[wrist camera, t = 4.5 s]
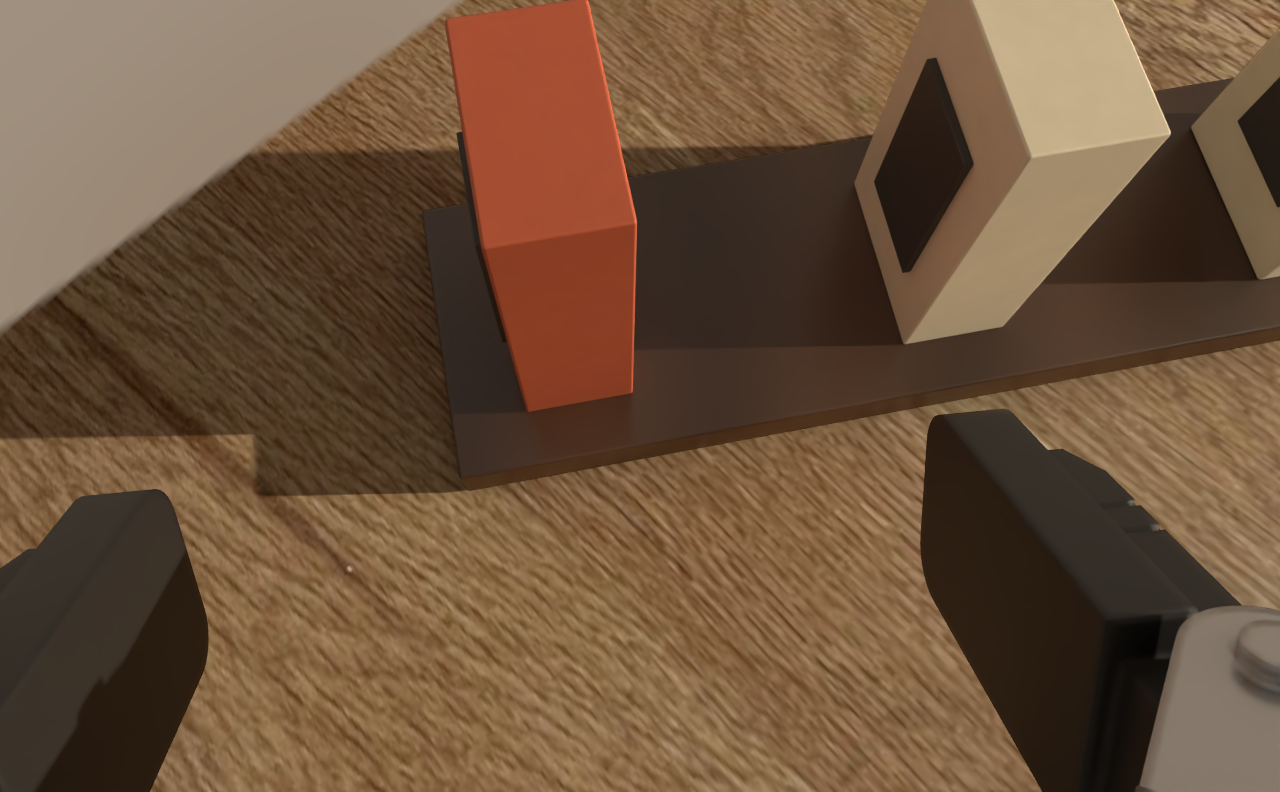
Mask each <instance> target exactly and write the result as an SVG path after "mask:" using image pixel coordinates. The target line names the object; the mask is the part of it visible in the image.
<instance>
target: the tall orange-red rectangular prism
mask: <svg viewBox="0 0 1280 792" xmlns="http://www.w3.org/2000/svg"><path fill="white" fill-rule="evenodd" d="M445 29H446V35H447V41H448V47H449V53H450V59H451V66H452V72H453V78H454V84H455V90H456V96H457V102H458V109H459V115H460V121H461V127H462V132H459V133H457V139H458V145H459V151H460V158H461V164H462V170H463V176H464V182H465V189H466V195H467V201H468V207H469V214H470V220H471V226H472V232H473V238H474V245H475V249H476V252H477V256H478V259H479V263H480V266H481V270H482V273H483V277H484V280H485V283H486V287H487V290H488V294H489V297H490V301H491V304H492V308H493V311H494V315H495V318H496V322H497V325H498V328H499V332H500V335H501V339H502V342H507V343H508V346H509V350H510V353H511V357H512V361H513V364H514V368H515V371H516V375H517V379H518V382H519V386H520V390H521V393H522V397H523V400H524V404H525V408H526V410H527V411H528V412H530V411H536V410H541V409H547V408H552V407H558V406H564V405H569V404H575V403H580V402H586V401H591V400H597V399H602V398H608V397H613V396H619V395H624V394H630V393H632V392H633V364H634V325H635V286H636V247H637V218H636V214H635V209H634V205H633V200H632V196H631V191H630V187H629V182H628V178H627V173H626V169H625V164H624V160H623V155H622V151H621V146H620V142H619V137H618V133H617V128H616V124H615V119H614V115H613V110H612V105H611V101H610V96H609V92H608V87H607V83H606V78H605V74H604V69H603V65H602V60H601V56H600V51H599V47H598V42H597V38H596V33H595V29H594V24H593V20H592V15H591V11H590V6H589V2H588V1H587V0H571V1H564V2H557V3H550V4H544V5H537V6H530V7H523V8H517V9H510V10H503V11H497V12H490V13H483V14H476V15H470V16H463V17H456V18H449V19H446V20H445Z"/></svg>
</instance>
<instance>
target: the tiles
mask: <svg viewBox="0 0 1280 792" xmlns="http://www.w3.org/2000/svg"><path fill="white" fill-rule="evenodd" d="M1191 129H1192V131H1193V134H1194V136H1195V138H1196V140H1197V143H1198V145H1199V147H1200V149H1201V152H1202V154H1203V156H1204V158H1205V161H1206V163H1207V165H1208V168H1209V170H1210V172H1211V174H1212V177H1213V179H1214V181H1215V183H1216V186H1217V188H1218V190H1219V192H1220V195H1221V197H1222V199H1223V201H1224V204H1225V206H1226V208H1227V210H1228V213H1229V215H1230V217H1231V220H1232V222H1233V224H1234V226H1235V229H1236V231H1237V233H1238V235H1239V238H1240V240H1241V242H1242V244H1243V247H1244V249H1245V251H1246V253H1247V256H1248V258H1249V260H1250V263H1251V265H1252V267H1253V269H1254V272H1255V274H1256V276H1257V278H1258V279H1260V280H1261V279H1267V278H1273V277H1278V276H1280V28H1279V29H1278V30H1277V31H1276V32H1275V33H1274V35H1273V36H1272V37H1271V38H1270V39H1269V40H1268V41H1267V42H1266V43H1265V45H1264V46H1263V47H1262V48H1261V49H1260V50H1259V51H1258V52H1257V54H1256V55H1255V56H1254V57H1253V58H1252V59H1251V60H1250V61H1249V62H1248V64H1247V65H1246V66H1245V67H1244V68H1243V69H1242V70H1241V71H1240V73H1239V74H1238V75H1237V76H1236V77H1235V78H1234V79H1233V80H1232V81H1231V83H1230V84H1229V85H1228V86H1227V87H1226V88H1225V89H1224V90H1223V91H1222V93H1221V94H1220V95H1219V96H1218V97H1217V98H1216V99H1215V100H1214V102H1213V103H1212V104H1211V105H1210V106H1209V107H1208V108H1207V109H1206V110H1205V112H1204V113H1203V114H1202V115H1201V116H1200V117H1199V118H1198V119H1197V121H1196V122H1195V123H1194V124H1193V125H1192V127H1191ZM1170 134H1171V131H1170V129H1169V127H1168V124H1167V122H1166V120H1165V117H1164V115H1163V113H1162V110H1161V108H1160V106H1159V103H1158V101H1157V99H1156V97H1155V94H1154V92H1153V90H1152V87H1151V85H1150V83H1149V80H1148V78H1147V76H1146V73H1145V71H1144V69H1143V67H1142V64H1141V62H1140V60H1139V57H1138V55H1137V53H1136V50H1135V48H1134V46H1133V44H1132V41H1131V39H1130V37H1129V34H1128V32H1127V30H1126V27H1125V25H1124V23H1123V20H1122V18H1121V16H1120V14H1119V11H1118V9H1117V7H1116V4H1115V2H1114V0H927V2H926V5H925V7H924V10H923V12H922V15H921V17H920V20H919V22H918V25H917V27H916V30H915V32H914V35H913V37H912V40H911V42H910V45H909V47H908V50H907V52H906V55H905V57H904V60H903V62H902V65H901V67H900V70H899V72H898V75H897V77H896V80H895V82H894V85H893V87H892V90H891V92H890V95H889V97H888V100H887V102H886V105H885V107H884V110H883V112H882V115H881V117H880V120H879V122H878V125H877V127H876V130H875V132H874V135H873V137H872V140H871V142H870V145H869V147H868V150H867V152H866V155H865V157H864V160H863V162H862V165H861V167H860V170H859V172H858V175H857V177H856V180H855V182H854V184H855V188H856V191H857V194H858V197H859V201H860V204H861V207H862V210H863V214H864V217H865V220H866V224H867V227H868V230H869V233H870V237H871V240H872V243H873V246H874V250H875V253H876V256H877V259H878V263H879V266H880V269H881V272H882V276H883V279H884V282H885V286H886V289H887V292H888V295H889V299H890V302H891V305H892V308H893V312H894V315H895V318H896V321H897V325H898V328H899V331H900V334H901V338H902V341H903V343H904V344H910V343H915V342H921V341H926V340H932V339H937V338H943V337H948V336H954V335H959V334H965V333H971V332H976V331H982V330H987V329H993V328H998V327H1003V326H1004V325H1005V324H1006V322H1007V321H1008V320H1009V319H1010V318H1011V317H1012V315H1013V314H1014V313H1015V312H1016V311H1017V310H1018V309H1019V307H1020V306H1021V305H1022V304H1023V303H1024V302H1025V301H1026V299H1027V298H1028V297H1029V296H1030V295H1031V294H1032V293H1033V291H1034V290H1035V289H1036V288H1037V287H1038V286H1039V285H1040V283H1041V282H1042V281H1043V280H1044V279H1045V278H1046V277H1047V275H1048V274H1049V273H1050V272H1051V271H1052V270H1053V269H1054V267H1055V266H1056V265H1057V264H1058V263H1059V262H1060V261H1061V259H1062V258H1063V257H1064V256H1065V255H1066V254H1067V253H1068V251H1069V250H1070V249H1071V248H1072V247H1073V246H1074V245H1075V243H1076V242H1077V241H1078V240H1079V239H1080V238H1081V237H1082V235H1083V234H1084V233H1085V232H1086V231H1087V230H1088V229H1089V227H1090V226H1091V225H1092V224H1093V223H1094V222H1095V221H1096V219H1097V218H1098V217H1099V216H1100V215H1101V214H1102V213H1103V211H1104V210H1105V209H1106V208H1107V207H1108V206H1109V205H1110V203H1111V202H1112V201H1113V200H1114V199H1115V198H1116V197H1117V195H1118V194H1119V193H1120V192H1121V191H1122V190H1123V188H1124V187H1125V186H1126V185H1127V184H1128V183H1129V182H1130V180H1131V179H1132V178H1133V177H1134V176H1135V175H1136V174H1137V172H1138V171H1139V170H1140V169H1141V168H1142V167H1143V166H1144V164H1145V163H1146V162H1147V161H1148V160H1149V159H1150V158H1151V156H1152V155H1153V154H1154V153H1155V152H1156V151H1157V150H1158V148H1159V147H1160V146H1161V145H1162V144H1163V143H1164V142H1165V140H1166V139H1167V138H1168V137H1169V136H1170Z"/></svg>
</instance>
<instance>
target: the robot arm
mask: <svg viewBox="0 0 1280 792" xmlns="http://www.w3.org/2000/svg"><path fill="white" fill-rule="evenodd" d="M920 546H921V559H922V566H923V571H924V576H925V580H926V583H927V586H928V589H929V592H930V594H931V596H932V598H933V600H934V602H935V604H936V606H937V607H938V609H939V611H940V613H941V614H942V616H943V618H944V620H945V621H946V623H947V625H948V627H949V628H950V630H951V632H952V634H953V636H954V637H955V639H956V641H957V643H958V644H959V646H960V648H961V650H962V651H963V653H964V655H965V657H966V658H967V660H968V662H969V664H970V665H971V667H972V669H973V671H974V672H975V674H976V676H977V678H978V679H979V681H980V683H981V685H982V686H983V688H984V690H985V692H986V693H987V695H988V697H989V699H990V700H991V702H992V704H993V706H994V708H995V709H996V711H997V713H998V715H999V716H1000V718H1001V720H1002V722H1003V723H1004V725H1005V727H1006V729H1007V730H1008V732H1009V734H1010V736H1011V737H1012V739H1013V741H1014V743H1015V744H1016V746H1017V748H1018V750H1019V751H1020V753H1021V755H1022V757H1023V758H1024V760H1025V762H1026V764H1027V765H1028V767H1029V769H1030V771H1031V772H1032V774H1033V776H1034V778H1035V780H1036V781H1037V783H1038V785H1039V787H1040V788H1041V790H1042V792H1280V611H1279V610H1274V609H1270V608H1263V607H1255V606H1242V605H1241V604H1240V603H1239V602H1238V601H1237V600H1236V599H1235V598H1234V597H1233V596H1232V595H1231V594H1230V593H1229V592H1228V591H1227V590H1226V589H1225V588H1224V587H1223V586H1222V585H1221V584H1220V583H1219V582H1218V581H1217V580H1216V579H1215V578H1214V577H1213V576H1212V575H1211V574H1210V573H1209V572H1208V571H1207V570H1205V569H1204V568H1203V567H1202V566H1201V565H1200V564H1199V563H1198V562H1197V561H1196V560H1195V559H1194V558H1193V557H1192V556H1191V555H1190V554H1189V553H1188V552H1187V551H1186V550H1185V549H1184V548H1183V547H1182V546H1181V545H1180V544H1179V543H1178V542H1177V541H1176V540H1175V539H1174V538H1173V537H1172V536H1171V535H1170V534H1169V533H1168V532H1167V531H1166V530H1160V529H1159V523H1158V522H1157V521H1156V520H1155V519H1154V518H1153V517H1152V516H1151V515H1150V514H1149V513H1148V512H1147V511H1146V510H1145V509H1144V508H1143V507H1142V506H1141V505H1139V506H1136V505H1135V499H1134V498H1133V497H1132V496H1131V495H1130V494H1129V493H1128V492H1127V491H1126V490H1125V489H1123V488H1122V487H1121V486H1120V485H1119V484H1118V483H1117V482H1116V481H1115V480H1114V479H1113V478H1112V477H1111V476H1110V475H1109V474H1108V473H1107V472H1106V471H1105V470H1103V469H1101V468H1099V467H1097V466H1095V465H1093V464H1091V463H1089V462H1087V461H1085V460H1083V459H1081V458H1079V457H1077V456H1075V455H1073V454H1071V453H1069V452H1067V451H1065V450H1063V449H1055V450H1047V449H1046V448H1045V447H1044V446H1043V445H1042V444H1041V443H1040V441H1039V440H1038V439H1037V438H1036V437H1035V436H1034V435H1033V434H1032V433H1031V432H1030V431H1029V430H1028V429H1027V428H1026V427H1025V426H1024V425H1023V423H1022V422H1021V421H1020V420H1019V419H1018V418H1017V417H1016V416H1015V415H1014V414H1013V413H1012V412H1011V411H1009V410H1007V409H996V410H986V411H975V412H965V413H955V414H944V415H937V416H935V417H934V418H933V419H932V421H931V423H930V426H929V429H928V434H927V446H926V461H925V476H924V492H923V507H922V523H921V540H920ZM207 654H208V623H207V617H206V612H205V609H204V605H203V602H202V599H201V595H200V592H199V589H198V586H197V582H196V579H195V576H194V572H193V569H192V566H191V563H190V559H189V556H188V553H187V549H186V546H185V543H184V540H183V536H182V533H181V530H180V526H179V523H178V520H177V517H176V513H175V511H174V508H173V505H172V503H171V501H170V500H169V498H168V497H167V495H166V494H165V493H164V492H162V491H161V490H158V489H152V490H142V491H132V492H121V493H111V494H101V495H90V496H83V497H80V498H78V499H76V500H75V501H74V502H73V504H72V505H71V506H70V507H69V509H68V510H67V511H66V512H65V514H64V515H63V516H62V517H61V519H60V520H59V521H58V522H57V524H56V525H55V526H54V527H53V528H52V530H51V531H50V532H49V533H48V535H47V536H46V537H45V538H44V540H43V541H42V542H41V543H40V545H39V546H38V547H37V548H36V549H28V550H26V551H25V552H23V553H22V554H21V555H19V556H18V557H16V558H15V559H13V560H12V561H10V562H9V563H8V564H6V565H5V566H3V567H2V568H0V792H150V790H151V788H152V785H153V783H154V781H155V779H156V777H157V774H158V772H159V770H160V768H161V765H162V763H163V761H164V759H165V757H166V754H167V752H168V750H169V748H170V745H171V743H172V741H173V739H174V737H175V734H176V732H177V730H178V728H179V725H180V723H181V721H182V719H183V716H184V714H185V712H186V710H187V708H188V705H189V703H190V701H191V699H192V696H193V694H194V692H195V690H196V688H197V685H198V683H199V681H200V679H201V676H202V674H203V671H204V668H205V665H206V660H207Z"/></svg>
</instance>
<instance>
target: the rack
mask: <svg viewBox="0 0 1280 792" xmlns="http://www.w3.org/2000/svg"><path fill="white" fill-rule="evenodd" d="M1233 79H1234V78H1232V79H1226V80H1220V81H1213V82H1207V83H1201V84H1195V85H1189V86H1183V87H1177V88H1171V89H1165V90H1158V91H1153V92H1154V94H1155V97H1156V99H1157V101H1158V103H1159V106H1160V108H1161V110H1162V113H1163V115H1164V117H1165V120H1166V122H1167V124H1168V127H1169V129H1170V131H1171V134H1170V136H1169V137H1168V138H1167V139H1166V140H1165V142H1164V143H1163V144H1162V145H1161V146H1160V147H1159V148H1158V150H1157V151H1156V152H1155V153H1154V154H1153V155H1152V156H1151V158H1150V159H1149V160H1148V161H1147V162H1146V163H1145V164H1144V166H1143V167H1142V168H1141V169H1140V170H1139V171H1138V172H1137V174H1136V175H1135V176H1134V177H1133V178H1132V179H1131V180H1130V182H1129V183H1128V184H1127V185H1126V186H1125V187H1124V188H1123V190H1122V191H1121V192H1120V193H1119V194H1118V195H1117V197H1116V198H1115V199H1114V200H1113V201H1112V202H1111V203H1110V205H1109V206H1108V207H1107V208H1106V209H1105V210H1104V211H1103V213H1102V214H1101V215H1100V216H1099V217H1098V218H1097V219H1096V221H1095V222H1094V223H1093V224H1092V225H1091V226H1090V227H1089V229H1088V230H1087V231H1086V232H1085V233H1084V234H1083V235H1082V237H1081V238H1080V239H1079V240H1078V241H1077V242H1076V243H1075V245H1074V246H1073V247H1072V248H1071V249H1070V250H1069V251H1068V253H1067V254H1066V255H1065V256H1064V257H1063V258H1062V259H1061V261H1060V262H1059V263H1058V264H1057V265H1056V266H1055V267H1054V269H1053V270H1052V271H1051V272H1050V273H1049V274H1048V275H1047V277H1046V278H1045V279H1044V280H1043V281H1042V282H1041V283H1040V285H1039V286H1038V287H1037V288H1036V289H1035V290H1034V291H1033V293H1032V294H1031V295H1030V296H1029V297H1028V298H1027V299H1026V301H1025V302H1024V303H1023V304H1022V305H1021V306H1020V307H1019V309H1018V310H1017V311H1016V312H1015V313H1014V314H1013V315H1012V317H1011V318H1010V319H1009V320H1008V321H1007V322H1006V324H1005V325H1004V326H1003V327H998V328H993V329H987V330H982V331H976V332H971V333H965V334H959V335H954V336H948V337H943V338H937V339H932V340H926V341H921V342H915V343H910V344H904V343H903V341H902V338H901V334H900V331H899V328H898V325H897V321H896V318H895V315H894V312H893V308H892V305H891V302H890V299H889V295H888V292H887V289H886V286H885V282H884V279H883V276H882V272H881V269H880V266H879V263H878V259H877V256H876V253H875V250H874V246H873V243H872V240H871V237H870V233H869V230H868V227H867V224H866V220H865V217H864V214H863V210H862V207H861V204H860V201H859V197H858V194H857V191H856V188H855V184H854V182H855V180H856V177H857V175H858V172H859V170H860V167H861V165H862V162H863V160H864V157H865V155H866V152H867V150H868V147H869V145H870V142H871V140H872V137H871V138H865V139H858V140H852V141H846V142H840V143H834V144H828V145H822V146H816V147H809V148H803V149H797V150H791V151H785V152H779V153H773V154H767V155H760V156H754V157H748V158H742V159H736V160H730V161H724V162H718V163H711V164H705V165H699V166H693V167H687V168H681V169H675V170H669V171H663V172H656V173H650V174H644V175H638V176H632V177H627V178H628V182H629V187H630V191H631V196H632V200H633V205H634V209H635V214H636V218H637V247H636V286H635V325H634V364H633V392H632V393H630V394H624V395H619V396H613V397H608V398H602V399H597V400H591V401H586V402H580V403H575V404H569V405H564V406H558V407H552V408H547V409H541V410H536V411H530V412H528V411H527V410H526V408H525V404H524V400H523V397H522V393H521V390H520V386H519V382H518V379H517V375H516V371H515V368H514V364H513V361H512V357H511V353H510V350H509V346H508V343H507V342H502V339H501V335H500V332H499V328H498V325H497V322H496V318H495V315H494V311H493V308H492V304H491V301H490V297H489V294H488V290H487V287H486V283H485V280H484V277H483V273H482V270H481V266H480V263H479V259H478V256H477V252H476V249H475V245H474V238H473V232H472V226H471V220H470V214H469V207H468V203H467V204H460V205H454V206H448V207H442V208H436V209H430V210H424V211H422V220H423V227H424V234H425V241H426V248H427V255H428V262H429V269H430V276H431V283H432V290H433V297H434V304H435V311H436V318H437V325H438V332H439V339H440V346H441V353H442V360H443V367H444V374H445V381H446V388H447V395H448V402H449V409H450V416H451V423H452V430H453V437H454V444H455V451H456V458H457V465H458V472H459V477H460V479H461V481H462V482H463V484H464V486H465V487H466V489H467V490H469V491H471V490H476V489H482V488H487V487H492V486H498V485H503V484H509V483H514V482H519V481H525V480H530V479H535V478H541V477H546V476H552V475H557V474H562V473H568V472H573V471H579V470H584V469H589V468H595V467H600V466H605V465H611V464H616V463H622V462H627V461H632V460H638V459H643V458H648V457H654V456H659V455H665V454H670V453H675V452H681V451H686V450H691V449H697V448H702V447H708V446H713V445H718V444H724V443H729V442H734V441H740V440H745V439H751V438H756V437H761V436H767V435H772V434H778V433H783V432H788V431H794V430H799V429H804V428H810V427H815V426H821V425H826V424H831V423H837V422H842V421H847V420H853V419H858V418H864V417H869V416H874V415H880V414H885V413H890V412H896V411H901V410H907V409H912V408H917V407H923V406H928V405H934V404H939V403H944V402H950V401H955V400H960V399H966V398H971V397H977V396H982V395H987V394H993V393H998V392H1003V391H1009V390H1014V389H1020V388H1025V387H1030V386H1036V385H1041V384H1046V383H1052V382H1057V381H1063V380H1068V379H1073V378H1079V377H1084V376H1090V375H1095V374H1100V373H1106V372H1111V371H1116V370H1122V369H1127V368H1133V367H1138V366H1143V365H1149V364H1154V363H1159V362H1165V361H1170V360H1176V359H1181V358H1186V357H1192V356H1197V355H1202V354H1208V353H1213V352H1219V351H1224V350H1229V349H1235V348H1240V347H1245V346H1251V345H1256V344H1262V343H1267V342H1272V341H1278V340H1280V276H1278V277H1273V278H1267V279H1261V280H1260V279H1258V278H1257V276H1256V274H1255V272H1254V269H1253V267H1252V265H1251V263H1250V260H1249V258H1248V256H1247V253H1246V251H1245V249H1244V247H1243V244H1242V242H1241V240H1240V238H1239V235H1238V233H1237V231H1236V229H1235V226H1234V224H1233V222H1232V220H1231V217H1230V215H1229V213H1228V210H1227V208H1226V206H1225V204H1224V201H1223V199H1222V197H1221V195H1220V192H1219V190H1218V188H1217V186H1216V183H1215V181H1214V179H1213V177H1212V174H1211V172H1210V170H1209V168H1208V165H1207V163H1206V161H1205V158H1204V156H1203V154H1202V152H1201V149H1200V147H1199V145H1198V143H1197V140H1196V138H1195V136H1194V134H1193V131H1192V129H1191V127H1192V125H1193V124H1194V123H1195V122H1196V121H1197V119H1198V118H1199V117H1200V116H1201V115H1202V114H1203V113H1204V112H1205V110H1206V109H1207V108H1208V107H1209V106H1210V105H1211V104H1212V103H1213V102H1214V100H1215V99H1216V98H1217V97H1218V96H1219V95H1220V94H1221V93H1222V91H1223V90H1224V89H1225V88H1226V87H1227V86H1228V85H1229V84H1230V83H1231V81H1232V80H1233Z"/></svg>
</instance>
